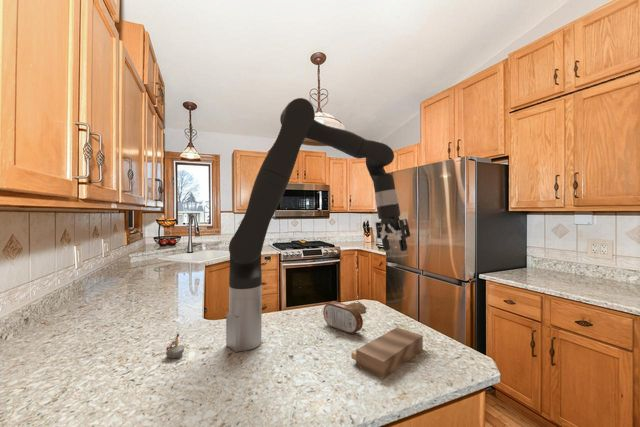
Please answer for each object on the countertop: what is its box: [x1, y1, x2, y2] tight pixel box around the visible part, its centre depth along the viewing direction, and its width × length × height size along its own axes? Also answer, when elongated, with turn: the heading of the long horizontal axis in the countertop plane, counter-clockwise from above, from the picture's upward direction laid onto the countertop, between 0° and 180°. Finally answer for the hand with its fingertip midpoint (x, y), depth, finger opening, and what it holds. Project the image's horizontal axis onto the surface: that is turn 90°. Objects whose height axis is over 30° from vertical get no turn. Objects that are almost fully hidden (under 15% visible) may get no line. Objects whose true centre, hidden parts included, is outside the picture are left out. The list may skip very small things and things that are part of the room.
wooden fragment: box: [348, 300, 367, 314], centre depth 109 cm, size 26×11×1 cm, turn 154°
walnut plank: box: [350, 326, 424, 380], centre depth 74 cm, size 20×10×4 cm, turn 134°
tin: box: [322, 300, 364, 335], centre depth 92 cm, size 15×3×8 cm, turn 47°
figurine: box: [165, 332, 185, 359], centre depth 75 cm, size 5×4×6 cm
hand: (395, 250), depth 96 cm, fingers open, 8 cm apart
